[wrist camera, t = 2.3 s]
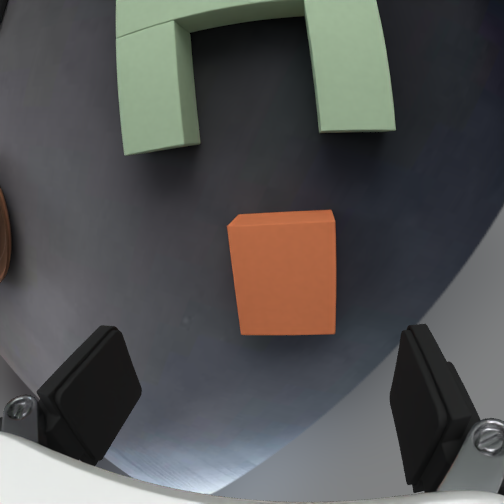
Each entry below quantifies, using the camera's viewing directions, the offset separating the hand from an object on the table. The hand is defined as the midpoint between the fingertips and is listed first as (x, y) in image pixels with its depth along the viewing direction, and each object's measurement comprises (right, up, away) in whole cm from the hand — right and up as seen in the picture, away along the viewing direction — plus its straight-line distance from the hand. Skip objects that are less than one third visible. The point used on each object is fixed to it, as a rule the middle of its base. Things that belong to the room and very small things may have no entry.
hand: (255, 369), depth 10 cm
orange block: (+2, +3, +8) cm, 9 cm away
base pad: (-1, +17, +4) cm, 17 cm away
